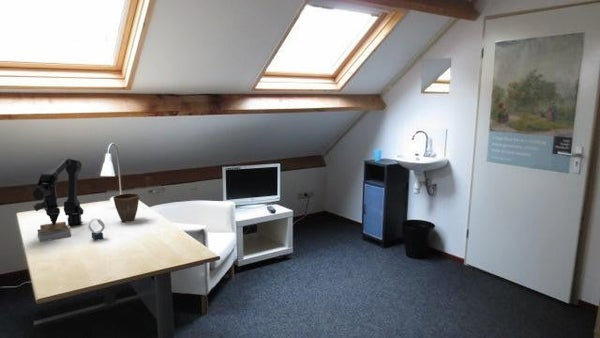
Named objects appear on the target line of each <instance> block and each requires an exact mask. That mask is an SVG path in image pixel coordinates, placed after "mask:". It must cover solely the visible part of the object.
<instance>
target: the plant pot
mask: <svg viewBox="0 0 600 338" xmlns="http://www.w3.org/2000/svg"><path fill="white" fill-rule="evenodd" d="M139 199H140V194H137V193H122V194H117V195H114V196H113V201H114V202H113V203H114V206H115V209H116V211H117V215H118V217H119V219H120V220H121V223H130V222H131V221H132V222H134V221H135V219H136V216H137V212H138V207H139V203H140V202H139V201H140V200H139Z"/></svg>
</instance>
